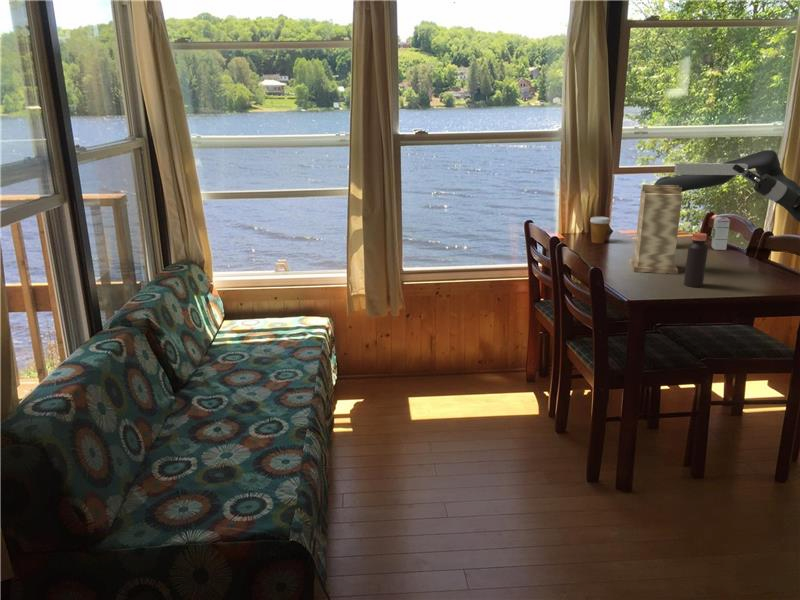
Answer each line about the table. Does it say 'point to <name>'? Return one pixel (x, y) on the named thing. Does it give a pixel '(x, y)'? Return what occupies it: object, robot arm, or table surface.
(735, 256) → the table surface
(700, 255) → the bottle
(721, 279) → the table surface
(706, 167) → the rail
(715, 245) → the syrup box
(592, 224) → the disposable coffee cup
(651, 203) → the post
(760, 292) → the table surface
